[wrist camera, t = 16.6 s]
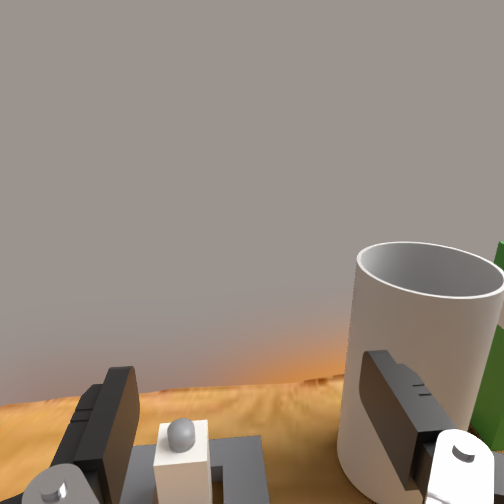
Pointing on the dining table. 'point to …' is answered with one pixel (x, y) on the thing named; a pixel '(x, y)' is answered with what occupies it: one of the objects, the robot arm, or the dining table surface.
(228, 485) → the socket plate
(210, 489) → the white block with knob
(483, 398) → the green cereal box
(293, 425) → the dining table surface
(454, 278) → the cylinder vase
